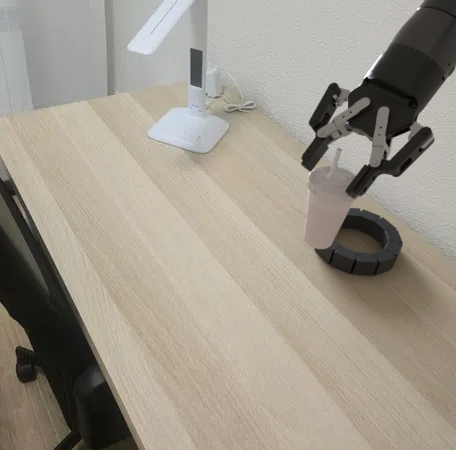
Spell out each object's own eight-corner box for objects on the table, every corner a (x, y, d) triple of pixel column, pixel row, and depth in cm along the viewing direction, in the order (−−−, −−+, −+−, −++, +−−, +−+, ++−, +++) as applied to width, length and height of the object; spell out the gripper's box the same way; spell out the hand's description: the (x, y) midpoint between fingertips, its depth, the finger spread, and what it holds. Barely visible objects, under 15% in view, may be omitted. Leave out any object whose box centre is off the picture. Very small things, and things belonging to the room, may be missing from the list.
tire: (405, 240, 94) (411, 227, 92) (381, 288, 86) (387, 274, 84) (330, 210, 100) (334, 197, 98) (300, 252, 91) (303, 239, 89)
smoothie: (297, 218, 76) (319, 130, 66) (345, 230, 74) (374, 142, 65) (289, 248, 71) (312, 159, 62) (339, 261, 70) (371, 171, 60)
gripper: (357, 23, 64) (270, 142, 66) (474, 68, 56) (370, 203, 58) (372, 55, 70) (291, 164, 72) (480, 100, 62) (385, 222, 64)
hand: (327, 181), depth 65 cm, fingers closed on smoothie, 6 cm apart
